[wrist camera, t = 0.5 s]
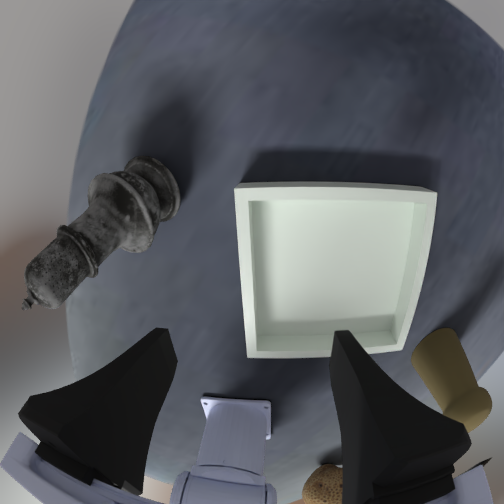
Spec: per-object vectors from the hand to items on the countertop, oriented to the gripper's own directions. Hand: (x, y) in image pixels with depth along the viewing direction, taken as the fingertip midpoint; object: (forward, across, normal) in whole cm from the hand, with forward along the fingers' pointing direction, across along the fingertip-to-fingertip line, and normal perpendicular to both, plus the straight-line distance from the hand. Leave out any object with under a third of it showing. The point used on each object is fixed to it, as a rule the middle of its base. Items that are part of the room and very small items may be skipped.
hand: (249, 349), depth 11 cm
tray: (+10, -5, +1) cm, 11 cm away
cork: (+10, -18, +11) cm, 24 cm away
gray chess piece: (+9, +8, -6) cm, 13 cm away
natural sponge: (+10, -10, +39) cm, 42 cm away
